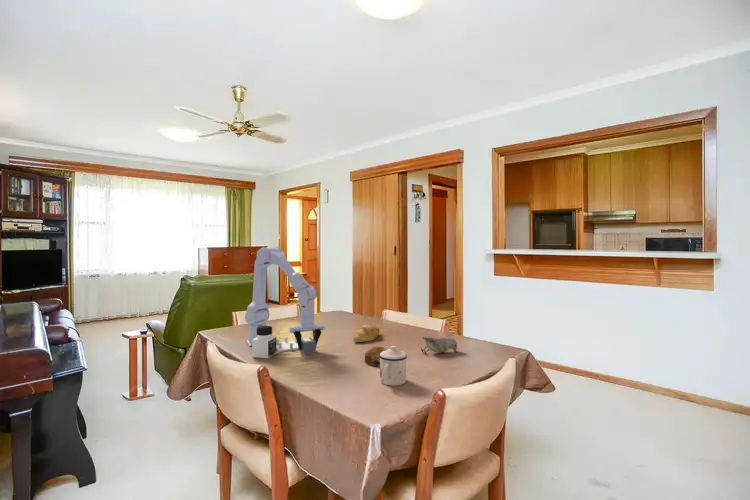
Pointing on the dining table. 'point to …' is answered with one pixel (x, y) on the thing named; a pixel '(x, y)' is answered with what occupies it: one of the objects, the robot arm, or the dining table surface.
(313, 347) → the block
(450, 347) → the decorative bird
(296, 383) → the dining table surface
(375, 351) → the bread roll
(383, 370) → the teacup with lid
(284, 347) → the white peg board
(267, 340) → the medicine bottle
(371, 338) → the croissant
